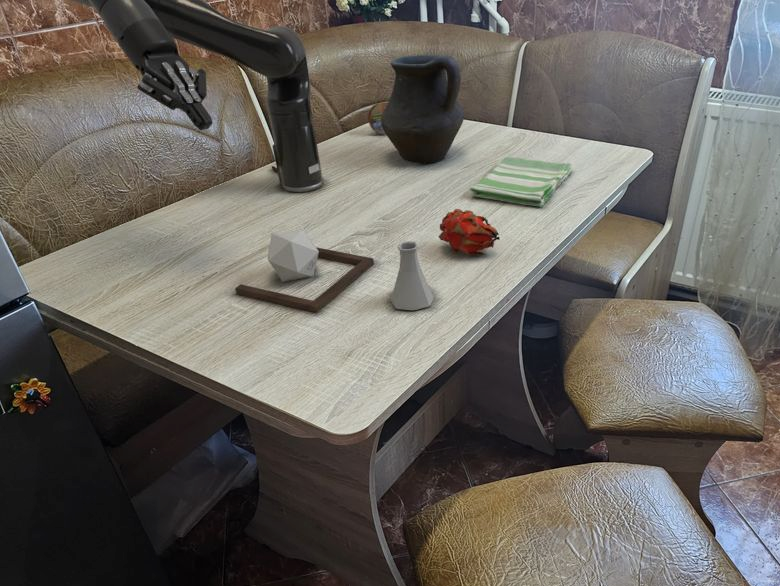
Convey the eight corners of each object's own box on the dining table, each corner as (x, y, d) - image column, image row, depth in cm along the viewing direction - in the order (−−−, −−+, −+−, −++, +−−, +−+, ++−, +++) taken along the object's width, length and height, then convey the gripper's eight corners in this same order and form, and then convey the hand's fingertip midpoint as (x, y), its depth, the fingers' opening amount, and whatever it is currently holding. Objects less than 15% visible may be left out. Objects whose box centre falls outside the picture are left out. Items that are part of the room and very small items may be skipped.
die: (309, 294, 108) (330, 239, 107) (257, 275, 105) (278, 218, 104) (305, 287, 116) (324, 236, 115) (257, 270, 113) (276, 217, 112)
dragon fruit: (438, 250, 122) (495, 269, 119) (423, 241, 114) (483, 262, 111) (453, 208, 122) (510, 226, 118) (439, 196, 113) (500, 216, 110)
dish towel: (573, 172, 150) (574, 161, 149) (543, 209, 133) (544, 196, 132) (503, 163, 156) (503, 152, 155) (466, 198, 139) (465, 186, 138)
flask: (390, 290, 107) (385, 236, 101) (433, 288, 107) (430, 234, 101) (390, 313, 101) (384, 257, 95) (435, 310, 101) (431, 254, 96)
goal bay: (236, 294, 107) (234, 288, 106) (299, 249, 120) (298, 243, 120) (317, 313, 102) (316, 306, 101) (374, 264, 115) (373, 258, 114)
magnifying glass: (372, 137, 177) (369, 105, 172) (368, 134, 179) (365, 103, 174) (421, 128, 183) (419, 98, 178) (416, 125, 185) (414, 95, 180)
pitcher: (420, 140, 173) (413, 41, 159) (485, 154, 163) (484, 49, 148) (368, 162, 160) (356, 55, 145) (436, 178, 149) (430, 65, 135)
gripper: (162, 45, 108) (225, 133, 110) (93, 50, 97) (164, 147, 100) (182, 15, 103) (246, 107, 106) (112, 17, 93) (185, 119, 96)
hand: (206, 126), depth 103 cm, fingers closed
